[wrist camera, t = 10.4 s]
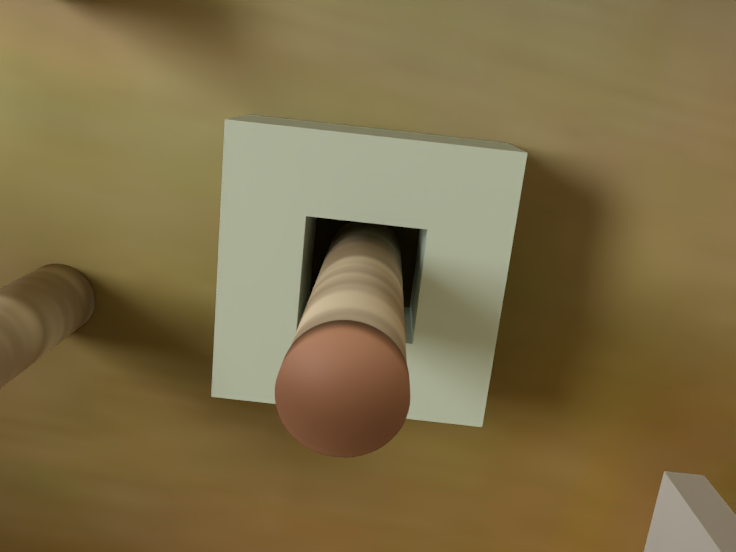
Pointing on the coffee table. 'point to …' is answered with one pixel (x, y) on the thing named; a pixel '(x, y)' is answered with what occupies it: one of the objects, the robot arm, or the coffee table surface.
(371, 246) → the pin long
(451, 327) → the collar block
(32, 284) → the pin medium
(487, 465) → the coffee table surface
